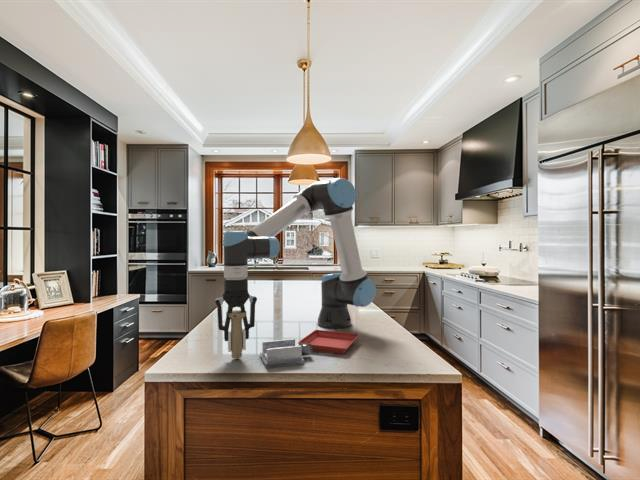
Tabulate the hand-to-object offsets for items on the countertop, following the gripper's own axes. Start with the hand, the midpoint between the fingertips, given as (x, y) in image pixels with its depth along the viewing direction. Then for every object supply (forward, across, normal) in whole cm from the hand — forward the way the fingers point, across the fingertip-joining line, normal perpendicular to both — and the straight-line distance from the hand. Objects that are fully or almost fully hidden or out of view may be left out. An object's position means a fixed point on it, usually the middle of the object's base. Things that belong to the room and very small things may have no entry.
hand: (236, 349), depth 120 cm
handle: (+3, 0, 0) cm, 3 cm away
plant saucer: (+4, +34, +4) cm, 34 cm away
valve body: (+3, +16, -5) cm, 17 cm away
